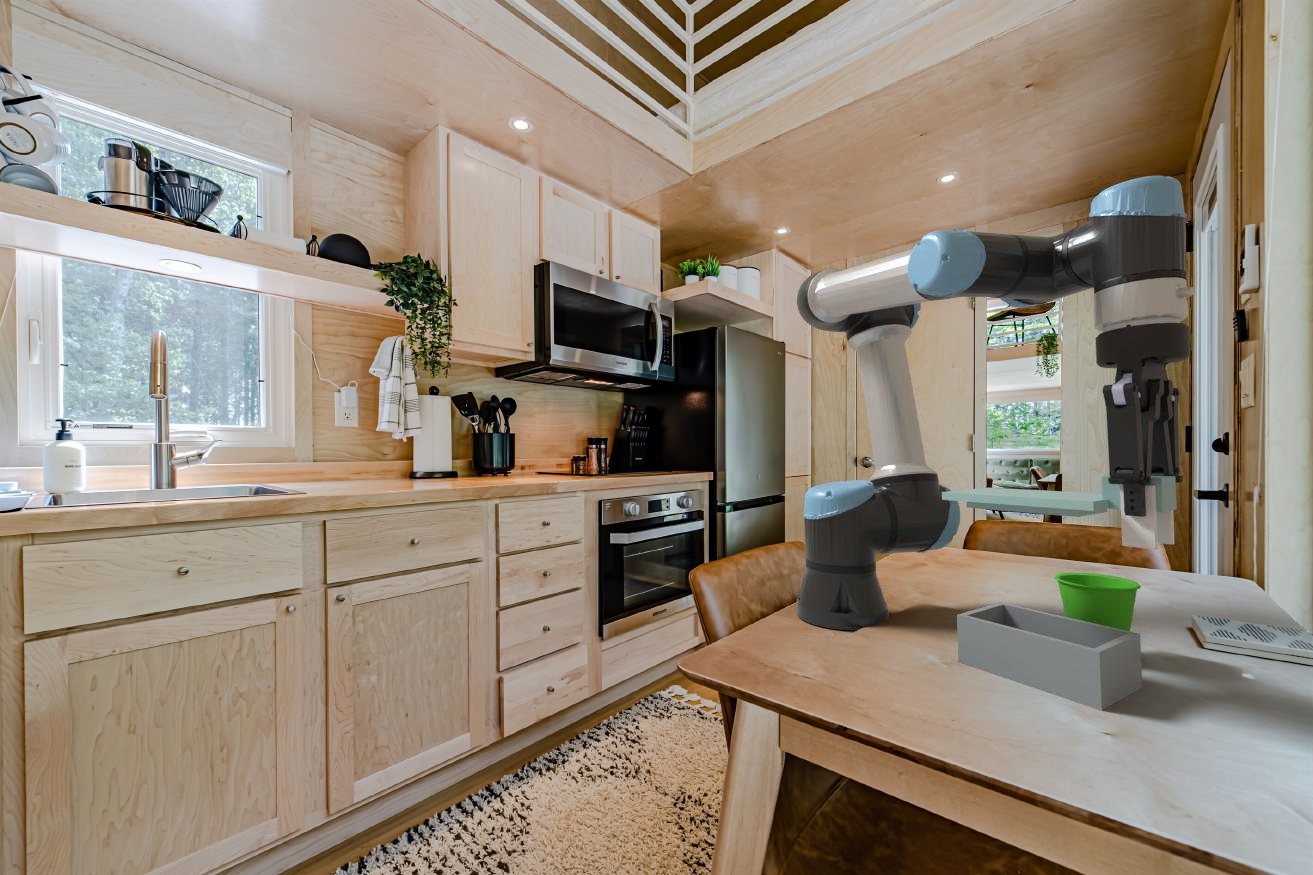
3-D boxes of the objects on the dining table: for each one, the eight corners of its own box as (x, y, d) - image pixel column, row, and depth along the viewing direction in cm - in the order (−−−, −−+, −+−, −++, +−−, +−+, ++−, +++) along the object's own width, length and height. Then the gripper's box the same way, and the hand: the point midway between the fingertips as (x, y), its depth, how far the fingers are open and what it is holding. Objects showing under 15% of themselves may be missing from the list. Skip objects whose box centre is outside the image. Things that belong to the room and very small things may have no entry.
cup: (1162, 678, 67) (1158, 589, 67) (1079, 673, 69) (1076, 587, 69) (1116, 651, 76) (1113, 573, 76) (1043, 647, 78) (1041, 571, 78)
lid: (942, 507, 71) (941, 473, 71) (988, 501, 77) (987, 470, 77) (1148, 525, 53) (1147, 479, 53) (1189, 515, 59) (1187, 474, 59)
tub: (958, 667, 71) (956, 614, 71) (1001, 651, 76) (1000, 602, 77) (1101, 717, 58) (1099, 652, 58) (1142, 693, 63) (1140, 633, 63)
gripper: (1155, 310, 50) (1165, 560, 50) (1214, 328, 59) (1223, 541, 59) (1062, 327, 57) (1070, 548, 56) (1128, 341, 65) (1135, 532, 65)
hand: (1148, 544), depth 57 cm, fingers closed on lid, 4 cm apart
